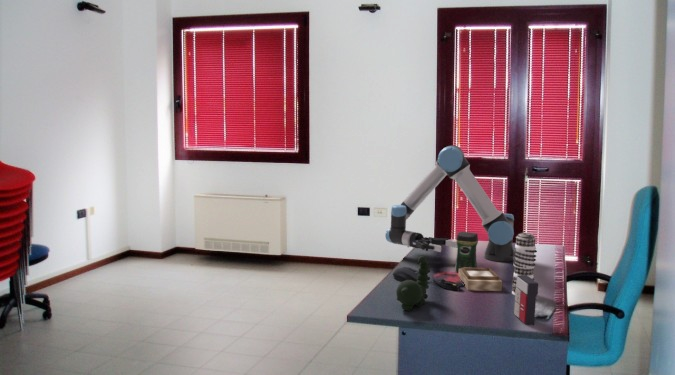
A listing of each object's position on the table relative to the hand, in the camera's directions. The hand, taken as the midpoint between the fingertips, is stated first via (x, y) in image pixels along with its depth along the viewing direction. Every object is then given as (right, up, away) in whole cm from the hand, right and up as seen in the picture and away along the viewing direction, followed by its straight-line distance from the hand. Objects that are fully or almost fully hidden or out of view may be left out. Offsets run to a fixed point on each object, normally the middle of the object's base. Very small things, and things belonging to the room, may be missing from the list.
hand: (449, 247), depth 299 cm
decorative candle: (+23, -16, -39) cm, 48 cm away
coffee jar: (+7, -11, -5) cm, 14 cm away
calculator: (+14, -20, -71) cm, 75 cm away
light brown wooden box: (+8, -13, -25) cm, 30 cm away
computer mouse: (-15, -14, -26) cm, 33 cm away
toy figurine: (-24, -17, -57) cm, 64 cm away
